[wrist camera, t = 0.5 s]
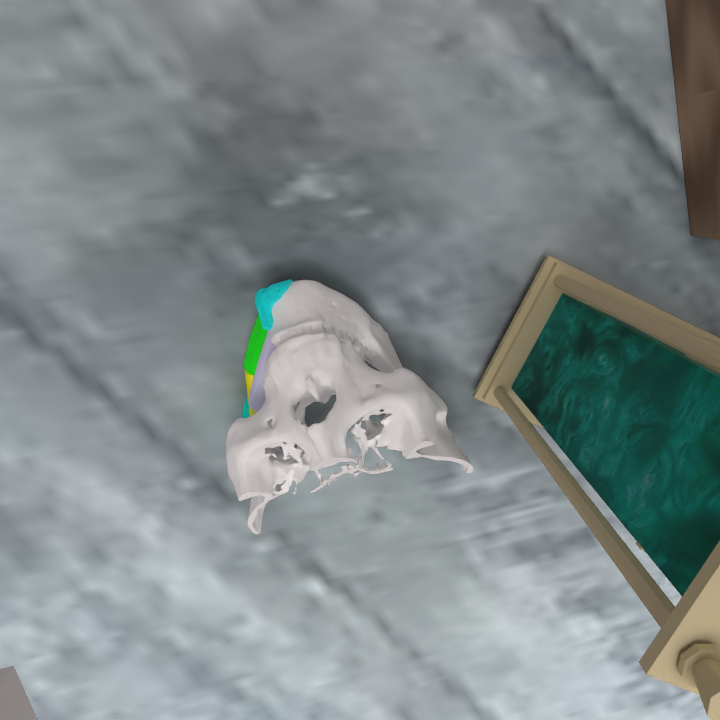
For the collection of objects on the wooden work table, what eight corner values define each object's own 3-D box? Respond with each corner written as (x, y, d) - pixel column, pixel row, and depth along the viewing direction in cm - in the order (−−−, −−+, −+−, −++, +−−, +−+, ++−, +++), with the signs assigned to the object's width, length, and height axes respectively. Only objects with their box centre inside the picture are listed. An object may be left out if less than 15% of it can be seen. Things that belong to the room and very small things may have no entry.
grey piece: (405, 230, 32) (466, 410, 28) (423, 320, 40) (473, 471, 36) (167, 304, 33) (189, 491, 28) (230, 378, 41) (255, 534, 36)
